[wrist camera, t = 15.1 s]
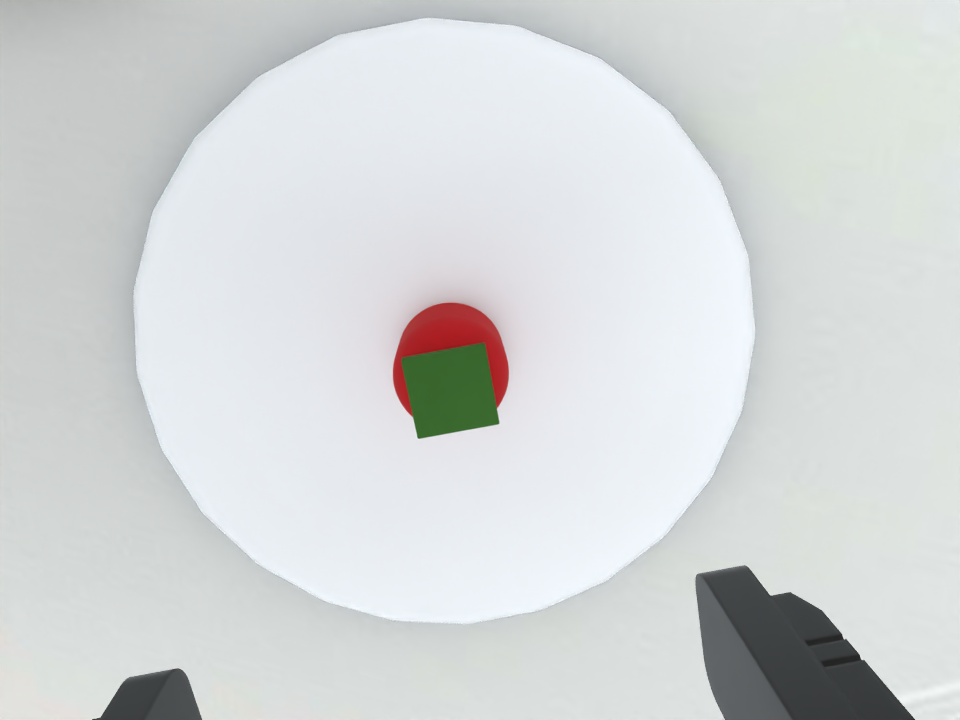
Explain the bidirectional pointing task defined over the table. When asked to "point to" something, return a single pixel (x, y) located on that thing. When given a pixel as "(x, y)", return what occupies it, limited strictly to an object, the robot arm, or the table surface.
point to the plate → (434, 280)
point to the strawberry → (450, 370)
